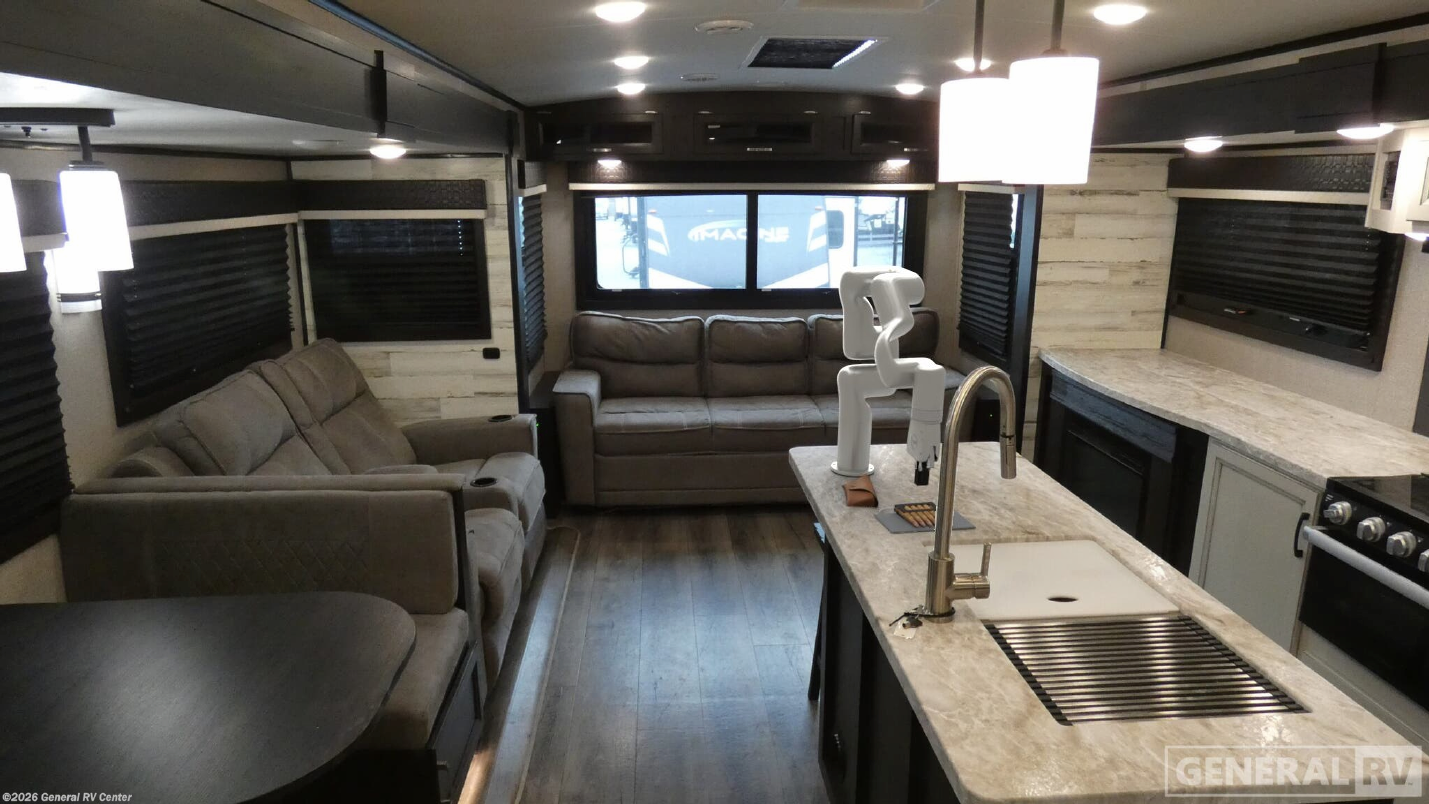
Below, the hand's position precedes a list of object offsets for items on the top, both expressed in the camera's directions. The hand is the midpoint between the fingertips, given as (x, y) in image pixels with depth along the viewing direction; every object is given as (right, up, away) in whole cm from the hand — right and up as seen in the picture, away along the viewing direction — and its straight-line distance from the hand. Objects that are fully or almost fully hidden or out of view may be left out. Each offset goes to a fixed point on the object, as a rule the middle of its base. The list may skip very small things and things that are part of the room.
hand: (921, 484), depth 225 cm
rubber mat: (0, -9, -1) cm, 9 cm away
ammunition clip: (-1, -6, +6) cm, 8 cm away
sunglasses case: (-13, -5, +17) cm, 22 cm away
